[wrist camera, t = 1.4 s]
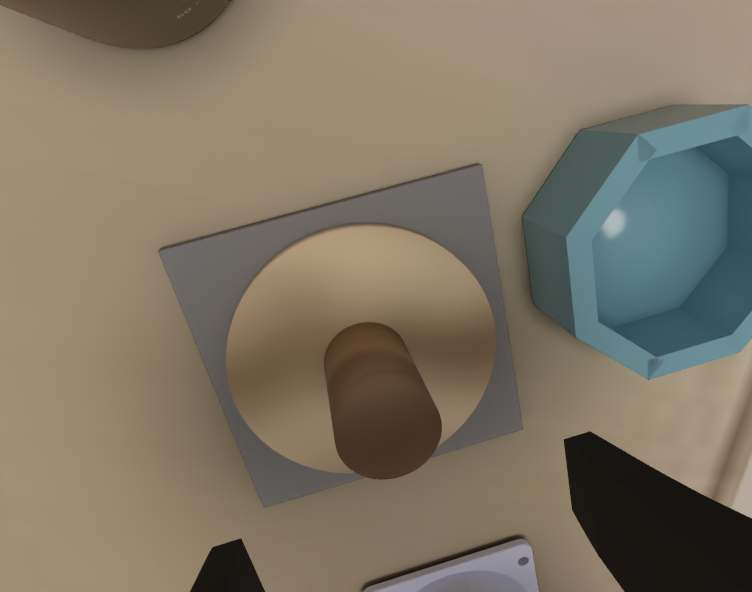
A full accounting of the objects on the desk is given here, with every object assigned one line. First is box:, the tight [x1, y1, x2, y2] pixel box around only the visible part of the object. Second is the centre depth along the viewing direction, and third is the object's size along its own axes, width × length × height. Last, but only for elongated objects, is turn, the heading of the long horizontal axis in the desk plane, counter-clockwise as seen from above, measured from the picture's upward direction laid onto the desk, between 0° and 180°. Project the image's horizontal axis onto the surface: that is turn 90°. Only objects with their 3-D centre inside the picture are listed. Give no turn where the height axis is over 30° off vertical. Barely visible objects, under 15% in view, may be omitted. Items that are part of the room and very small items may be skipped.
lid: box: [226, 222, 496, 479], centre depth 17 cm, size 10×10×5 cm
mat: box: [158, 163, 523, 508], centre depth 19 cm, size 11×11×1 cm
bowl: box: [522, 105, 752, 380], centre depth 18 cm, size 8×8×3 cm
